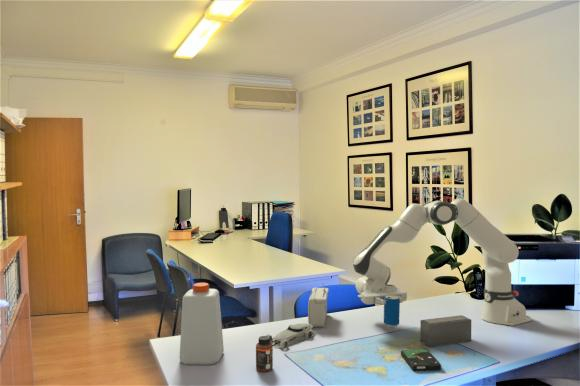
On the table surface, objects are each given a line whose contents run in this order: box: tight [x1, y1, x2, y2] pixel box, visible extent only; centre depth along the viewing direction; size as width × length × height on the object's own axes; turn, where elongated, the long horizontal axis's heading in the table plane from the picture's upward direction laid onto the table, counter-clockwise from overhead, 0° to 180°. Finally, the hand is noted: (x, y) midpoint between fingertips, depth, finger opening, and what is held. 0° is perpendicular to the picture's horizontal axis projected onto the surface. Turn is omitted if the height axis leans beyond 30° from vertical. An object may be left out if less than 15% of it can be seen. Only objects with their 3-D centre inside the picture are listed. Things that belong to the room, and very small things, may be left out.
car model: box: [265, 323, 315, 350], centre depth 193 cm, size 11×24×5 cm, turn 139°
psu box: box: [419, 314, 472, 348], centre depth 188 cm, size 20×6×9 cm, turn 107°
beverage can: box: [383, 295, 401, 328], centre depth 194 cm, size 6×6×12 cm
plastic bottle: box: [179, 282, 225, 366], centre depth 173 cm, size 15×15×28 cm
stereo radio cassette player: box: [307, 284, 330, 328], centre depth 215 cm, size 21×8×20 cm, turn 172°
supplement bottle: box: [255, 335, 274, 373], centre depth 163 cm, size 6×6×11 cm
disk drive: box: [400, 348, 442, 372], centre depth 168 cm, size 10×3×15 cm
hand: (392, 301), depth 193 cm, fingers closed on beverage can, 6 cm apart
